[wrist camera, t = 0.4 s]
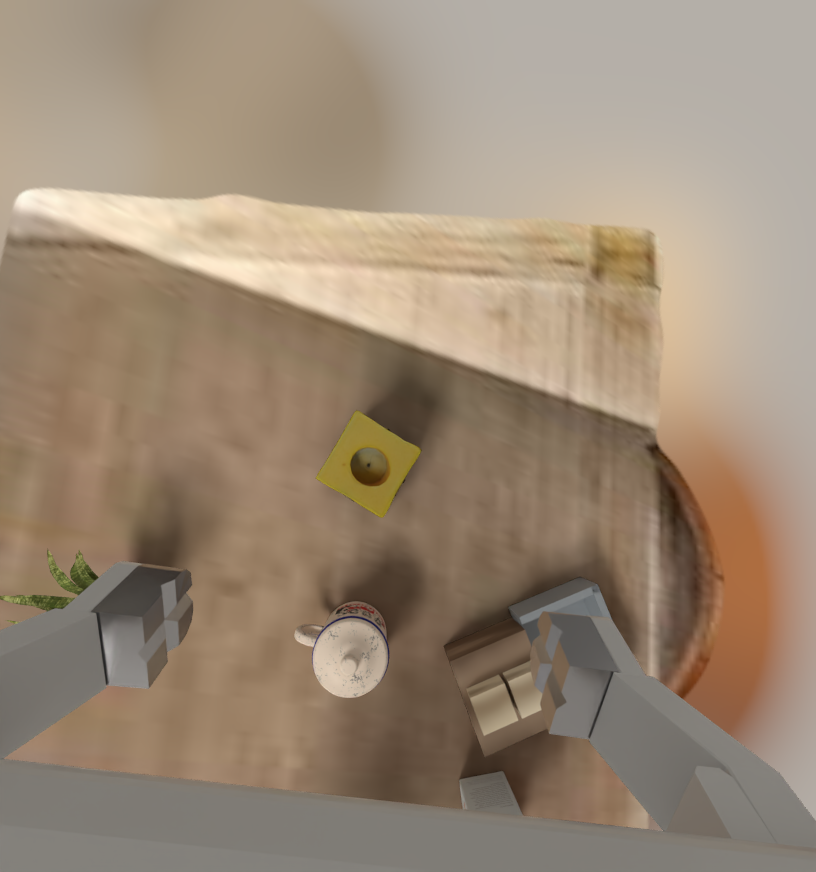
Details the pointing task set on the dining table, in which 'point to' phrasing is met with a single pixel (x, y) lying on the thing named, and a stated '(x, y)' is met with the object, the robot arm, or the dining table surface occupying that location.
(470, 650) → the brown and beige block
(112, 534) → the dining table surface
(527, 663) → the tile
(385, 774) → the dining table surface
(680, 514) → the dining table surface
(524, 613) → the tray
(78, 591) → the house plant
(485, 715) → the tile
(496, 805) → the small box
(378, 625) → the teacup with lid
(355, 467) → the candle
